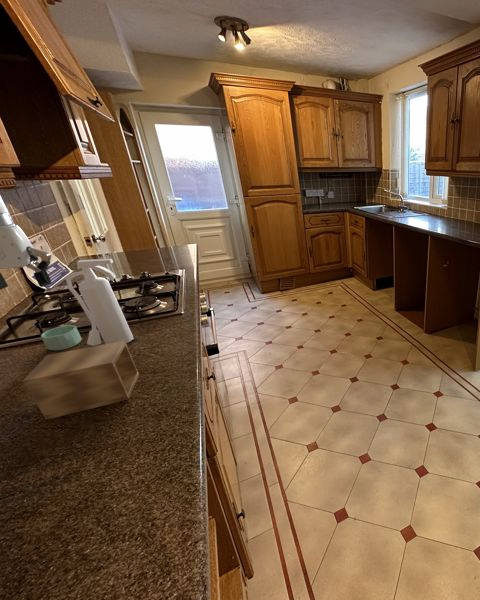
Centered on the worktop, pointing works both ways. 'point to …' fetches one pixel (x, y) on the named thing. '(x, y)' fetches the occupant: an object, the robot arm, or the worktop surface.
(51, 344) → the bowl
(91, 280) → the fire extinguisher
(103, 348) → the wooden box
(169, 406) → the worktop surface
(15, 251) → the robot arm
